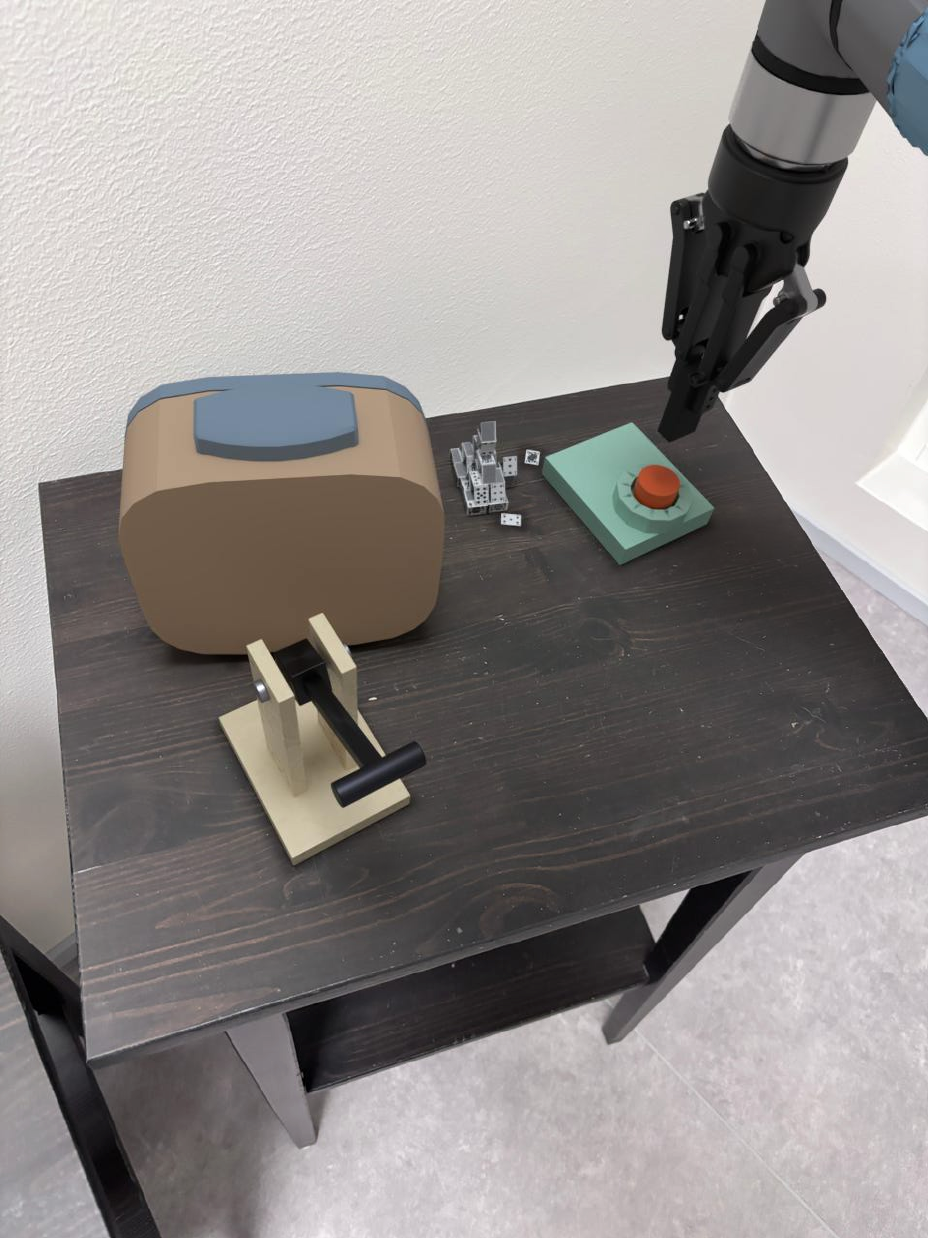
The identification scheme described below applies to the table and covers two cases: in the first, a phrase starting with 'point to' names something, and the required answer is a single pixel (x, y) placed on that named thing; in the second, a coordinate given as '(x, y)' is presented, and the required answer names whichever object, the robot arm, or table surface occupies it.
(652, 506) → the button
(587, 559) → the table surface
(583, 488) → the button box
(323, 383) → the alarm clock
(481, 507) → the house of cards
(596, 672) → the table surface
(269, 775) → the hinged lever switch
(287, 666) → the lever
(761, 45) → the robot arm
